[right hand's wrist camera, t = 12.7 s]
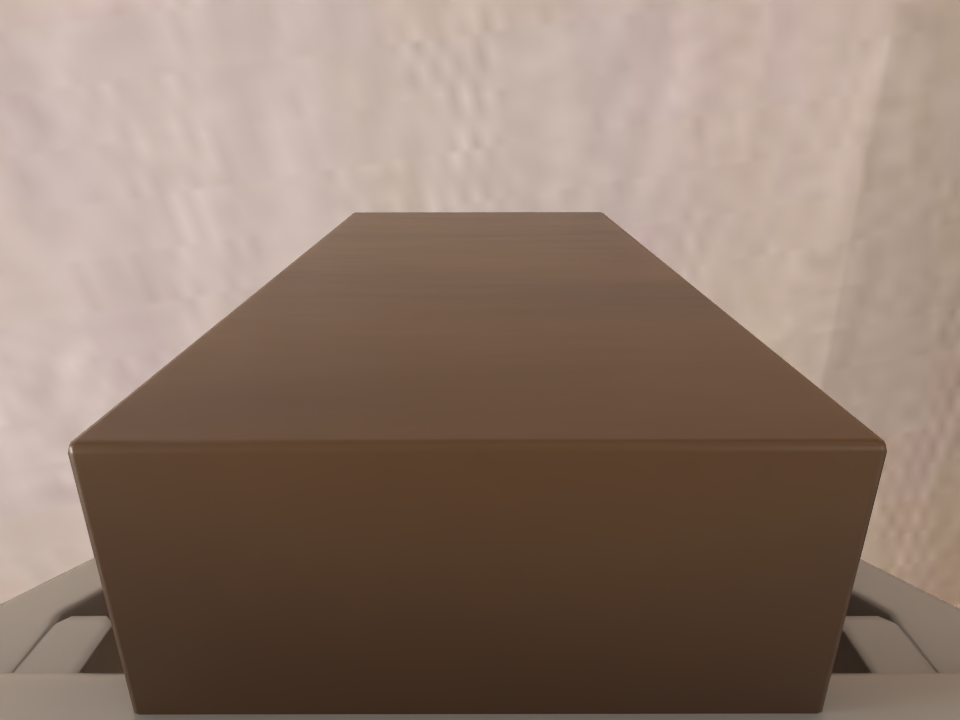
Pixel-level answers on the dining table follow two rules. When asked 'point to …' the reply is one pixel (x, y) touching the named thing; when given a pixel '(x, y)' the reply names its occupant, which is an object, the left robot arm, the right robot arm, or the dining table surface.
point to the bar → (477, 489)
